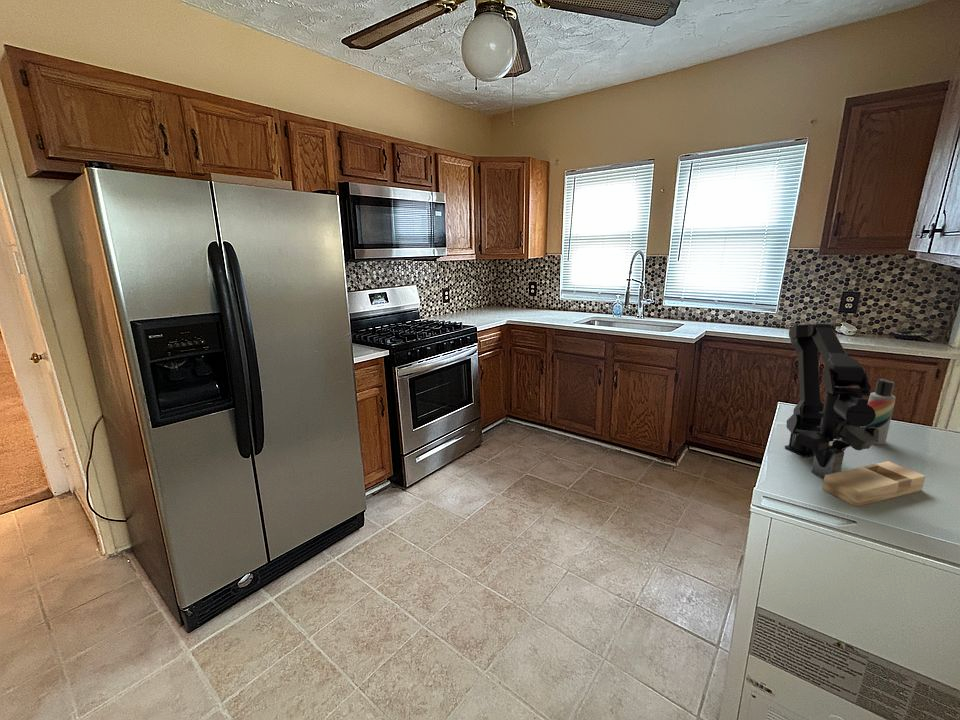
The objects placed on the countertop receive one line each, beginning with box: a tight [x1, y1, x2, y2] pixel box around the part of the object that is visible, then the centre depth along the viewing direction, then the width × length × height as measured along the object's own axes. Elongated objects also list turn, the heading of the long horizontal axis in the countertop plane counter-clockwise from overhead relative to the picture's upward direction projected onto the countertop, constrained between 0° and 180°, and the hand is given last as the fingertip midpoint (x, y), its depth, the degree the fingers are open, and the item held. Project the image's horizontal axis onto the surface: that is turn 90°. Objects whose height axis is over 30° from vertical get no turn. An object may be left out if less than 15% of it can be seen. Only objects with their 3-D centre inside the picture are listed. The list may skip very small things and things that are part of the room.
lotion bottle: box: [863, 378, 896, 445], centre depth 129 cm, size 6×6×20 cm
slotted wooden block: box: [821, 460, 927, 508], centre depth 106 cm, size 8×22×4 cm, turn 105°
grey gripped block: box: [810, 449, 845, 479], centre depth 112 cm, size 5×3×8 cm, turn 15°
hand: (826, 465), depth 112 cm, fingers closed on grey gripped block, 3 cm apart
